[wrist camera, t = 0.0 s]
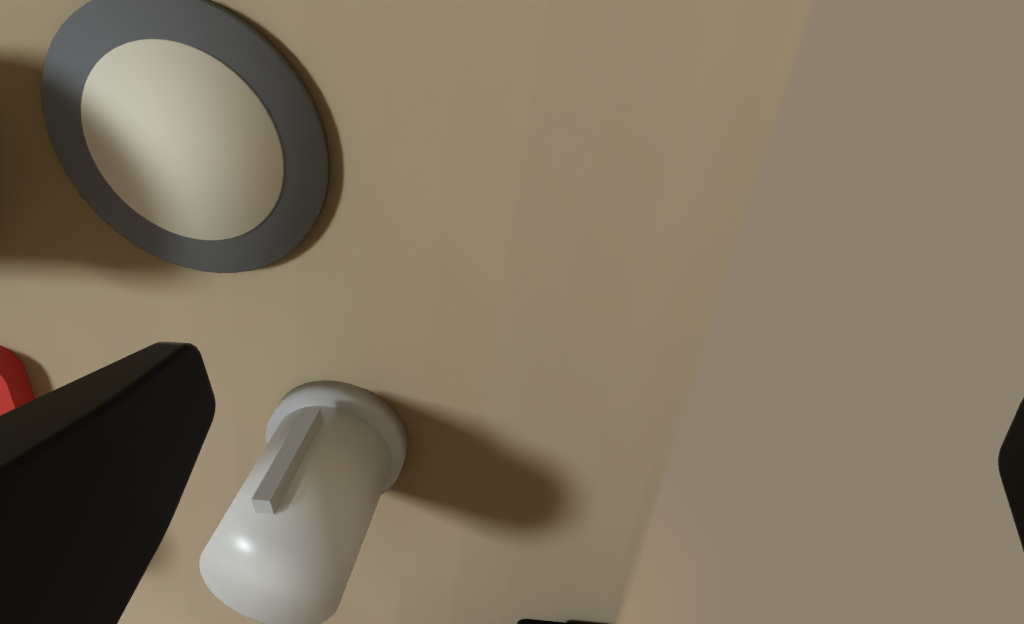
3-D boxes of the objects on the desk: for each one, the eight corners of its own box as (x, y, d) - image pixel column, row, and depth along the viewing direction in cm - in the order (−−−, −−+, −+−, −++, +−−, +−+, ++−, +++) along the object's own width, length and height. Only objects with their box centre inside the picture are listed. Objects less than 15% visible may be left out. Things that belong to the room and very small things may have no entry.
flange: (349, 272, 25) (344, 279, 24) (105, 262, 26) (97, 268, 25) (300, -15, 20) (293, -12, 19) (3, -12, 21) (-9, -8, 21)
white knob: (414, 487, 30) (363, 642, 24) (290, 478, 31) (211, 626, 25) (399, 380, 27) (336, 527, 21) (261, 372, 28) (164, 512, 22)
